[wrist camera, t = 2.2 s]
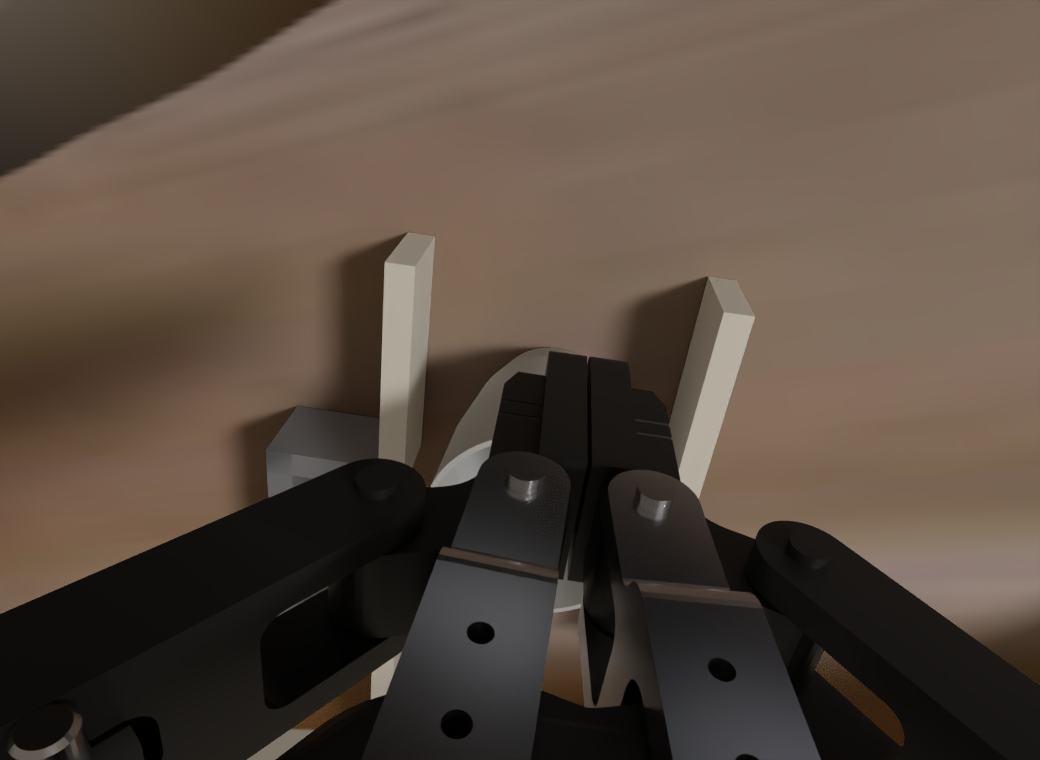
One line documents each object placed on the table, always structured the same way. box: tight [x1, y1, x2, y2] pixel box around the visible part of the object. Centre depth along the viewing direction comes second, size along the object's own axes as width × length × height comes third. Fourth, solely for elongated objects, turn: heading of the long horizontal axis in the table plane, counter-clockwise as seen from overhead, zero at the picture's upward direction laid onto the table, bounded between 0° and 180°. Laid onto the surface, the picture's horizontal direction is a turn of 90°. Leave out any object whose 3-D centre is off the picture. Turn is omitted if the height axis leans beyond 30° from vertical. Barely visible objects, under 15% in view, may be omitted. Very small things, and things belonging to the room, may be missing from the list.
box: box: [265, 232, 755, 699], centre depth 38 cm, size 25×39×4 cm, turn 173°
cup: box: [430, 347, 583, 613], centre depth 29 cm, size 8×8×10 cm
